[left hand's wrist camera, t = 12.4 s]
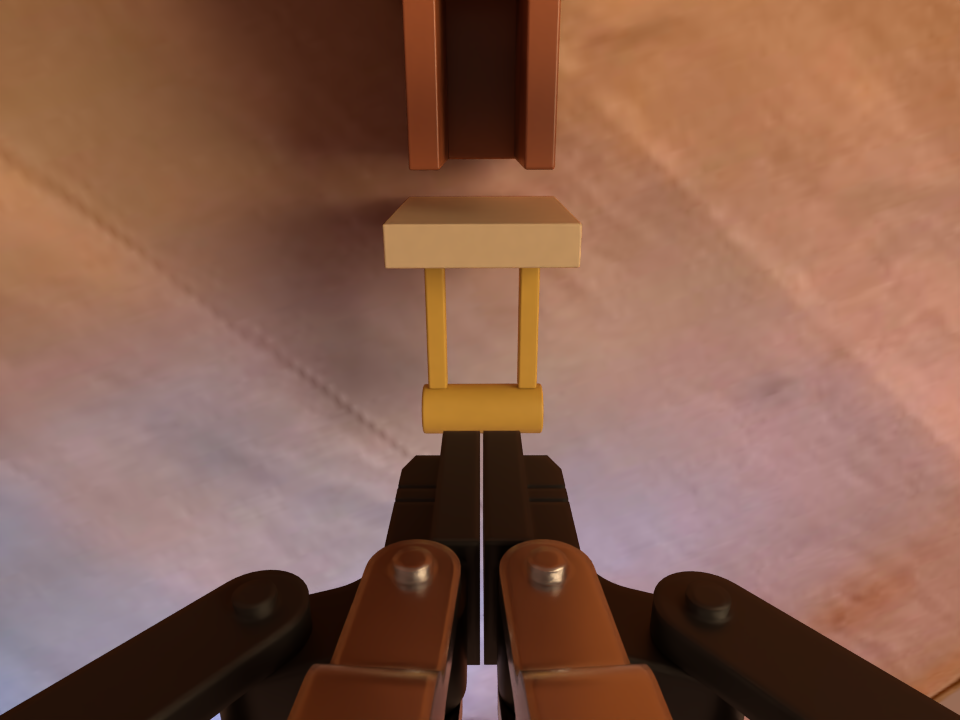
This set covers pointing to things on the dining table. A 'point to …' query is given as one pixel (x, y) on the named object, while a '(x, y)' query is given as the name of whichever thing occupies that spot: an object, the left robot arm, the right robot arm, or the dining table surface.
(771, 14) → the dining table surface
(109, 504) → the dining table surface
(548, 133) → the drawer
